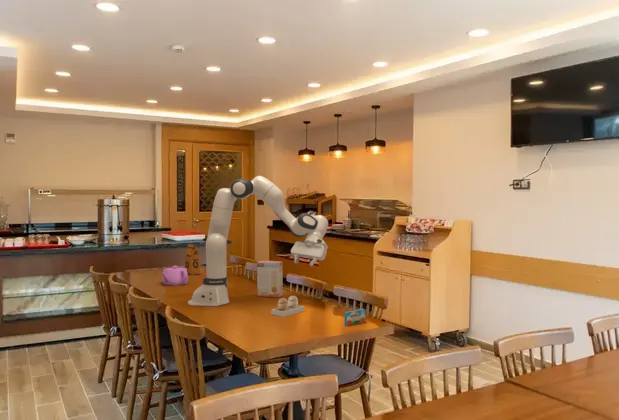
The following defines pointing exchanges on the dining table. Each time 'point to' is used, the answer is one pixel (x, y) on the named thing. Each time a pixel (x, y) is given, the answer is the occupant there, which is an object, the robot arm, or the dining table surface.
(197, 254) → the coffee package
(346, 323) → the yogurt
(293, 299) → the cream egg
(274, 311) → the carton
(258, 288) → the cracker box
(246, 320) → the dining table surface
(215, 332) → the dining table surface
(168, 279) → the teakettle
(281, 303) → the brown egg
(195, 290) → the robot arm
